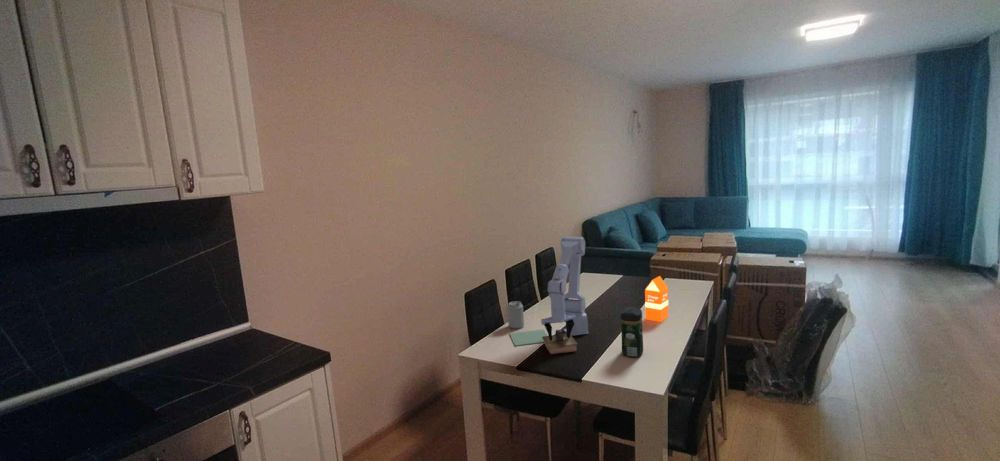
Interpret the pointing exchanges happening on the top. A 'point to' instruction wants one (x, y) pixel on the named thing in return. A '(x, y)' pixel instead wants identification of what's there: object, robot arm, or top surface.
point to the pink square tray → (561, 349)
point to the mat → (528, 337)
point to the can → (515, 315)
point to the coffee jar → (632, 332)
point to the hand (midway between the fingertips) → (559, 338)
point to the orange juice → (656, 300)
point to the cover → (559, 340)
